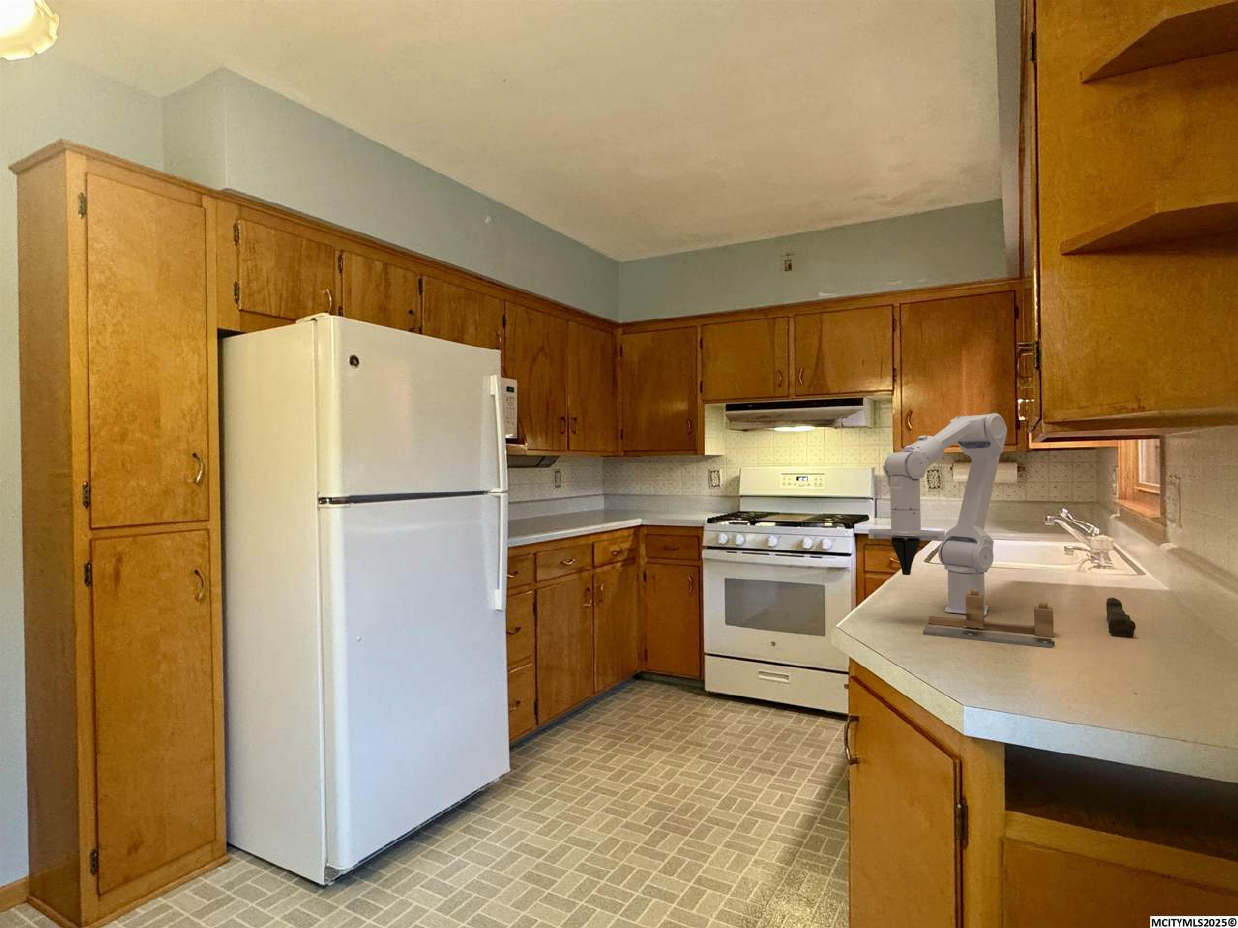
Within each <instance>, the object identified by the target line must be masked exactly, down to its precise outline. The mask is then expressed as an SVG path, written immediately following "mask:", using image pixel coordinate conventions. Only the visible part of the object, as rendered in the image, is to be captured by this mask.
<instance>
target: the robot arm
mask: <svg viewBox="0 0 1238 928" xmlns="http://www.w3.org/2000/svg"><path fill="white" fill-rule="evenodd" d="M948 423H949V424H948V425H946V426H945V427H944V428H943V429H941V430H940V431H939V432H938V433H937V434H935V435H934V436H932V435H920V436H918V437H917V440H916V441H915V442H914V443H912V444H910V445H906V446H904V447H903V449H902V450H901V451H899V452H892V453H890V454H889V455H888V456H887V457H886V458H885V460H884V465H882V469H883V472H884V475H885V477H886V480H887V486H888V487H889V490H890V492H889V493H890V496H889V497H890V498H889V499H890V503H889V505H890V528H869V529H868V539H869V540H870V539H873V540H875V539H882V540H883V539H884V540H886V539H887V540H891V541H890V544H891V546H892V548H893V551H894V552H895V553H896V557H897V559H898V561H899V565H900V567H901V573H902V575H903V576H910V575H912V566H913V564H914V563H913V562H914V559H915V557H916V554H917V552H918V550H919V547H920V545H921V542H922V541H931V542H933V541H934V542H941V543H940V545H939V546H938V547H939V548H938V552H937V553H938V559H939V562H940V563H941V564H942V565H943V566H944V567H943V568H944V570H946V571H947V605H946V607H945V609H944V612H945V613H952V614H960V615H961V614H962V615H966V594H967V593H971V589H976V590H979V593H980V594H984V617H985V616H987V614H988V610H989V605H987V604H986V600H985V597H986V596H985V595H986V594H985V573H988V572H989V569H990V568H991V567H992V565H993V562H994V556H995V555H994V543H995V541H994V540H993V538H992V537H991V535H989V533H987V532H986V531H985V527H986V521H987V518H988V517H987V516H988V513H989V507H990V503H991V498H992V494H993V488H994V485H995V481H996V475H997V471H998V467H999V463H1000V457H1001V456H1000V455H1001V454H1003V451H1004V446H1005V444H1006V443H1005V442H1006V437H1007V433H1008V428H1007V425H1006V423H1005V420H1004V418H1003V417H1002V415H1000V414H999V413H997V412H993V413H988V414H976V415H975V414H974V415H957V416H956V417H954V418H952V419H950V421H949V422H948ZM955 444H956V445H957V446H958V448H959V449H960V450H962V453H963V454H964V455H967V456H969V457H970V459H971V462H970V467H969V471H968V476H967V481H966V485H965V490H964V493H963V498H962V503H961V507H960V511H959V515H958V521H957V524H956V525H955V526H953V527H952V528H950V529H949V530H947V531H946V532H945V530H932V529H931V530H929V529H922V526H921V482H920V481H921V480H920V479H923V478H924V476H925V475H926V472H927V469H928V468H929V467H930V466H931V465H933V464H935V463H936V462H937V461H939V460H941V459H942V458H943V456H944V454H945V450H946V449H948V448H951V446H953V445H955Z"/></svg>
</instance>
